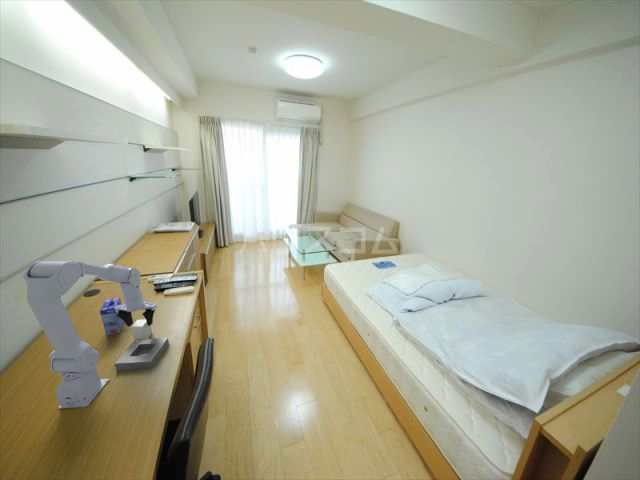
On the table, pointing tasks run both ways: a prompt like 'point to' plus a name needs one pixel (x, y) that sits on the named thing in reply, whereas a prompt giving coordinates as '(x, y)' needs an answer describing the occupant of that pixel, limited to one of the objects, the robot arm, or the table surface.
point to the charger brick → (141, 329)
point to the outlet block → (142, 354)
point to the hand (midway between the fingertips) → (140, 324)
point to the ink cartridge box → (111, 316)
